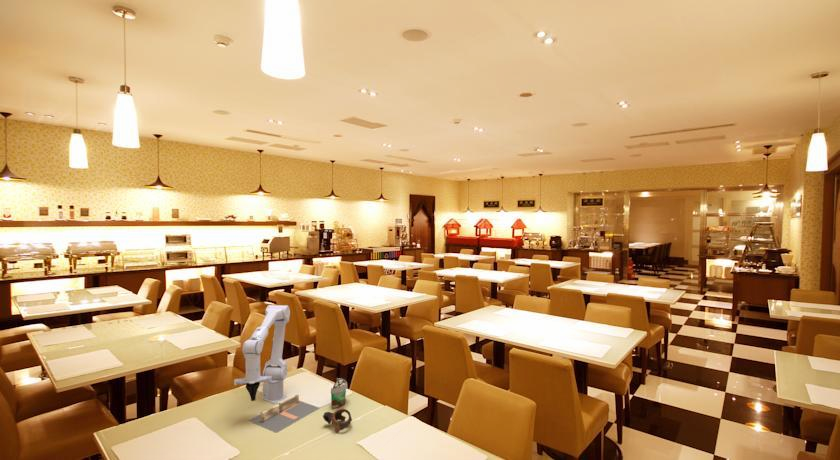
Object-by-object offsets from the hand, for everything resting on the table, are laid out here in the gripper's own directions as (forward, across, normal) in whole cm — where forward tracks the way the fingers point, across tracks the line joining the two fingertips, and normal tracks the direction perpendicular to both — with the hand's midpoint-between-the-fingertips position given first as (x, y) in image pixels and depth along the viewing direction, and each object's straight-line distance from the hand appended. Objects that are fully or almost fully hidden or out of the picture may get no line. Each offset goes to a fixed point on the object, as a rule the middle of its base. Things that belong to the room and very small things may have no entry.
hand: (253, 399), depth 170 cm
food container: (+9, +36, +6) cm, 38 cm away
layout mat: (+9, +12, +2) cm, 16 cm away
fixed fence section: (+9, +14, +8) cm, 18 cm away
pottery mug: (+10, +34, -13) cm, 38 cm away
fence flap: (+9, +6, 0) cm, 11 cm away
